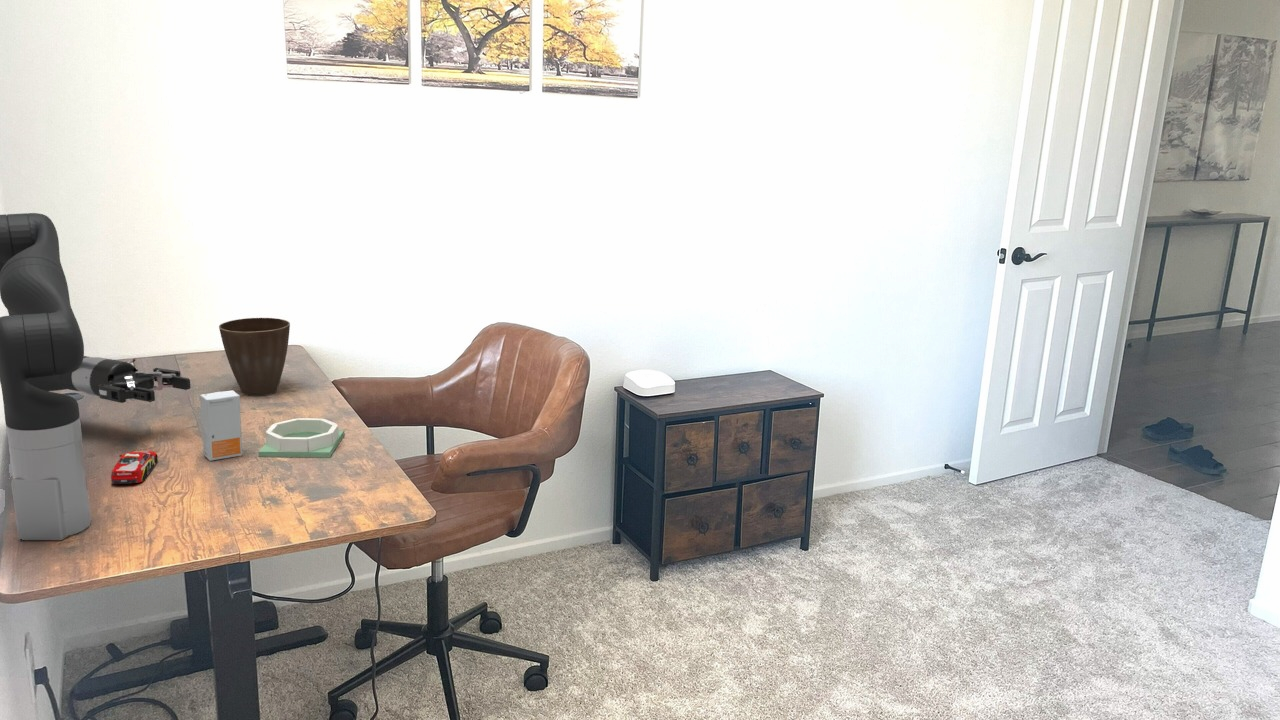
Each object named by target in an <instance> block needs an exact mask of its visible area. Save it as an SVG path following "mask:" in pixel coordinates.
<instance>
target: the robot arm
mask: <svg viewBox="0 0 1280 720" xmlns="http://www.w3.org/2000/svg"><path fill="white" fill-rule="evenodd" d="M59 242H60V241H59V235H58V232H57V229H56V226H55V224H54V222H53V221H52V219H51V218H50V217H49V216H47V215H45V214H44V213H38V212H26V213H25V212H24V213H23V212H22V213H8V214H0V299H1V302H2V304H3V305H4V307H5V309H6V310H7V313H8V315H4V316H0V388H1V395H2V401H3V412H4V421H5V427H6V434H7V441H8V444H7V445H8V450H9V451H8V453H9V458H10V467H11V474H12V480H11V482H10V485H11V493H12V500H13V507H14V508H13V509H14V515H15V523H16V529H17V531H16V532H17V536H18V537H17V539H18V540H19V539H22V540H21V541H62V540H64V539H66V538H67V537H69V536H68V535H70V536H73V535H76V534H78V533H80V532H83V531H85V530H86V529H88V527H90V525H91V523H92V519H91V518H92V516H91V507H90V498H89V489H88V481H87V480H88V479H87V472H86V464H85V463H86V462H85V454H84V453H85V452H84V446H83V445H84V444H83V436H82V435H83V433H82V427H81V426H82V425H81V418H80V408H79V403H78V401H77V399H76V398H74V397H73V396H71V395H69V394H68V395H67V394H64V393H59V392H57V391H63V390H70V391H75V392H81V393H84V394H86V395H91V396H95V397H99V398H100V399H103V400H107V401H110V402H114V403H115V402H116V403H121V404H122V403H126V402H127V400H129V401H133V402H135V401H144V402H146V403H147V402H148V403H152V402H155V401H156V395H155V391H162V390H163V389H165V388H174V389H179V390H183V391H187V390H190V389H191V388H192V387H191V379H190V378H189V377H182V376H181V371H180V370H174V369H167V368H161V367H155V368H153V371H145V370H139V369H138V368H137V369H138V370H137V369H136V368H135V367H134V366H133V365H132V364H130V363H128V362H129V361H123V360H116V359H111V358H106V357H99V356H97V357H96V356H95V357H94V356H87V355H85V343H84V338H83V334H82V331H81V329H80V325H79V323H78V320H77V318H76V316H75V313H74V311H73V309H72V305H71V299H70V291H69V286H68V282H67V277H66V275H65V272H64V269H63V266H62V262H61V258H60V257H61V256H60V255H61V254H60V243H59ZM155 382H156V383H157V385H155ZM55 391H56V392H55Z"/></svg>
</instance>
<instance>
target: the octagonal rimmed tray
mask: <svg viewBox="0 0 1280 720" xmlns="http://www.w3.org/2000/svg"><path fill="white" fill-rule="evenodd" d="M344 437H345V429H344V430H343V429H339V424H338V423H335V422H333V421H330V420H328V419H326V418H313V417H311V418H309V417H307V418H302V417H298V418H293V419H287V420H284V421H279V422H275V423H273V424H271V425H270V426H269V428H267V430H266V431H265V440H266V441H265V443H264V445H263V446H262V447H261V448H260V449H259V450H258V457H259V458H262V457H263V458H264V457H265V458H266V457H267V458H273V457H274V458H331V456H332V455H333V453H334V451H335V450H336V449H337V447H338V446H339V444H340V443H341V441H342V439H343V438H344Z"/></svg>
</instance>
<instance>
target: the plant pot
mask: <svg viewBox="0 0 1280 720" xmlns="http://www.w3.org/2000/svg"><path fill="white" fill-rule="evenodd" d="M290 328H291V323H290V321H289V320H286V319H282V318H275V317H249V318H248V317H245V318H237V319H233V320H229V321H225V322H222V323H220V324H219V326H218V329H219V334H220V337H221V341H222V345H223V348H224V351H225V355H226V358H227V361H228V364H229V366H230V368H231V372H232V373H233V376H234V378H235V381H236V383H237V385H238V387H239V389H240V391H241V392H242V394H243V393H244V394H243V395H245V394H247V395H246V396H250V395H262V396H268V395H271V393H272V394H274V393H276V392H277V390H278V387H279V384H280V382H281V379H282V378H281V377H282V375H283V372H284V368H285V363H286V359H287V354H288V353H287V352H288V349H289V347H288V346H289V339H290V330H291V329H290ZM267 394H268V395H267Z"/></svg>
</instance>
